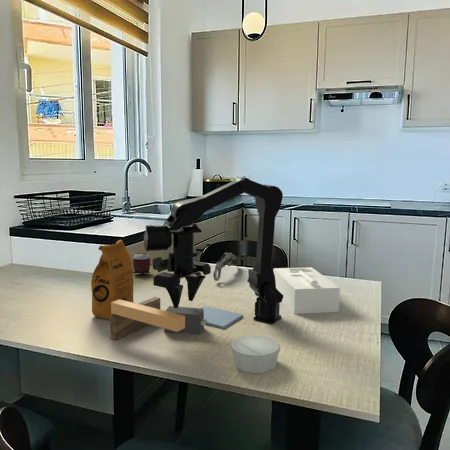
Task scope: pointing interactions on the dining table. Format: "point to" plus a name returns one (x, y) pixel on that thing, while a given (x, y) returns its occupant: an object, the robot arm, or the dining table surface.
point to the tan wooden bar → (148, 315)
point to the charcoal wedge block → (189, 319)
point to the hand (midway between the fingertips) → (183, 304)
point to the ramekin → (255, 353)
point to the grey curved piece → (224, 264)
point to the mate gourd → (141, 263)
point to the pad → (220, 317)
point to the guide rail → (129, 321)
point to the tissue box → (307, 290)
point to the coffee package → (111, 279)
